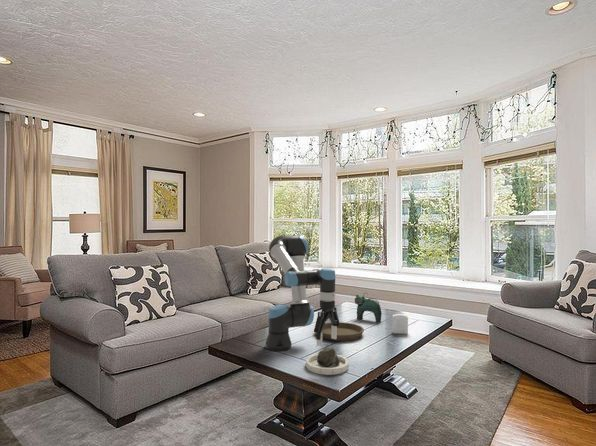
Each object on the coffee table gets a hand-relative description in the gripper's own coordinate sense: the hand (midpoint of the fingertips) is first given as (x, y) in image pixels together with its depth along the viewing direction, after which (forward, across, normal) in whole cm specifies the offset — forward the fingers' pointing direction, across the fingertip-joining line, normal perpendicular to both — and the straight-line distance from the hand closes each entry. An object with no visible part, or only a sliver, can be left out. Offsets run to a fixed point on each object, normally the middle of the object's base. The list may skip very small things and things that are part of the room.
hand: (326, 342), depth 186 cm
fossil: (+11, 0, -1) cm, 11 cm away
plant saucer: (+13, +50, +21) cm, 56 cm away
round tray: (+12, 0, -1) cm, 12 cm away
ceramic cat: (+14, +94, +22) cm, 97 cm away
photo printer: (+13, +76, -9) cm, 77 cm away
